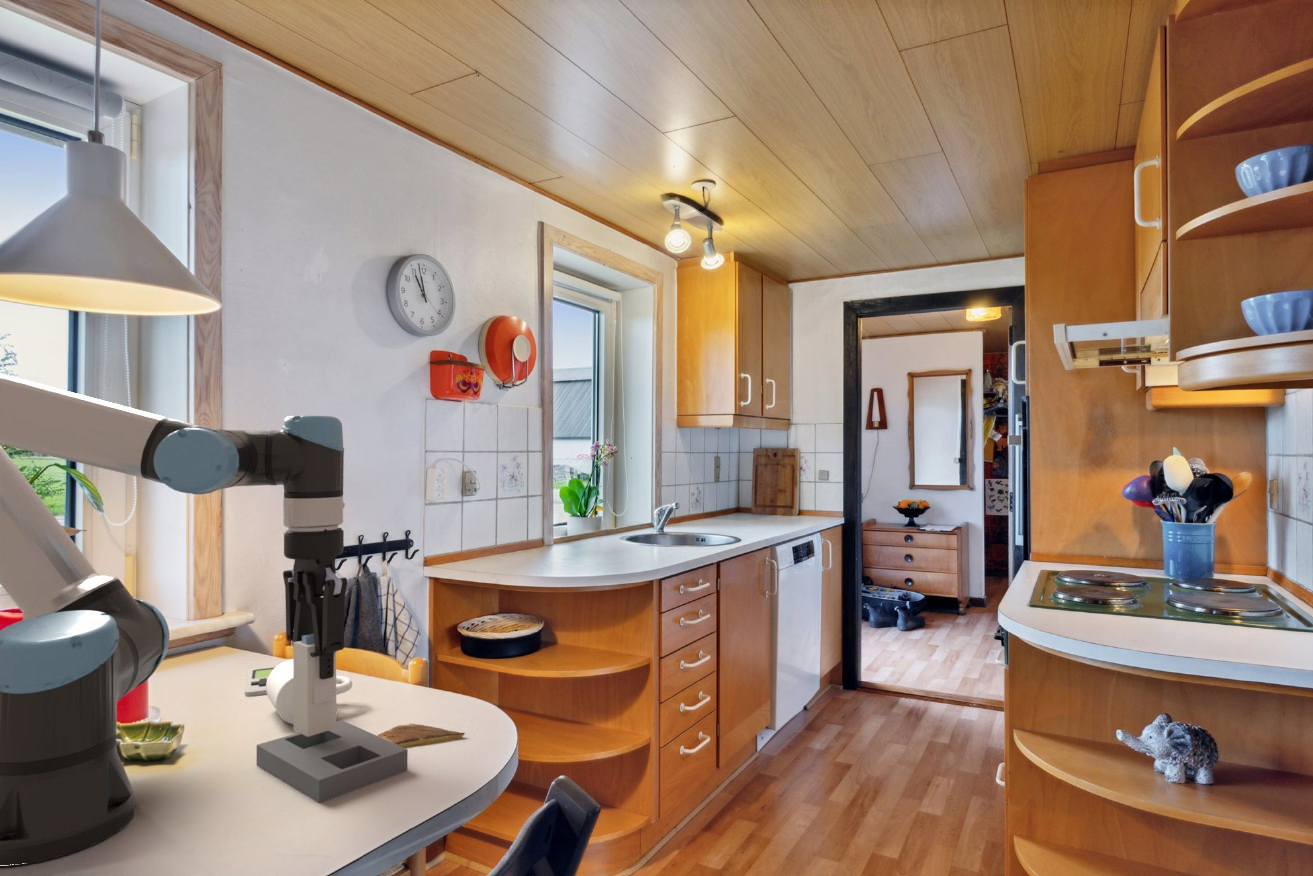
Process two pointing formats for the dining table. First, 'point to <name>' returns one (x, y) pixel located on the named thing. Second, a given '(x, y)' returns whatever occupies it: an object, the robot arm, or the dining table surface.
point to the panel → (331, 760)
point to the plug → (309, 693)
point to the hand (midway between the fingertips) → (314, 697)
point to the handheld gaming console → (257, 681)
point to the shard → (418, 735)
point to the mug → (291, 689)
